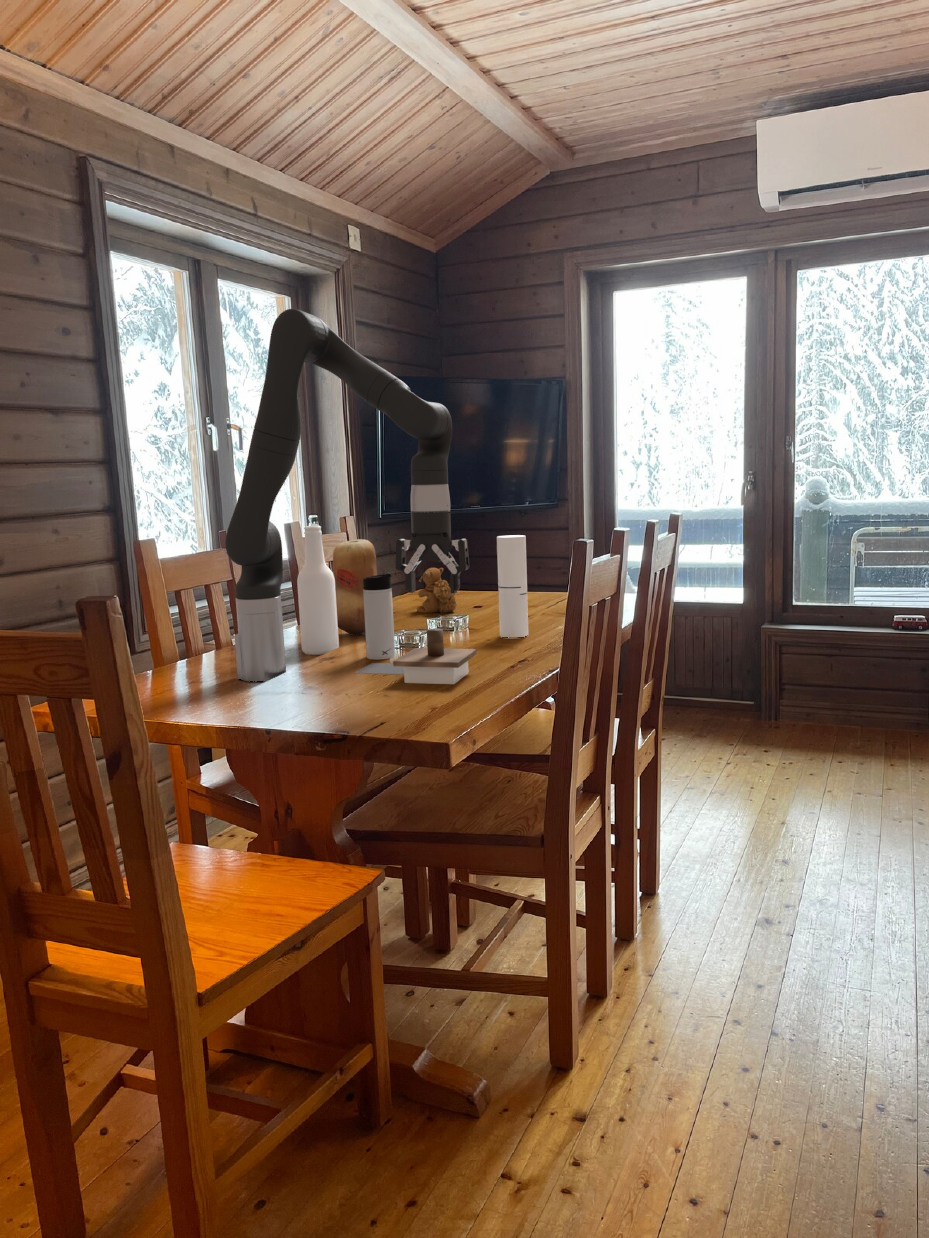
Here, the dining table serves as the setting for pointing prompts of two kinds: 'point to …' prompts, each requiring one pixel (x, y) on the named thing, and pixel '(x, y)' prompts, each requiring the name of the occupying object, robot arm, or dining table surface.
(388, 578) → the travel mug
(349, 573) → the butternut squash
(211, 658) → the dining table surface
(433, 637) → the lid
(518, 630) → the cylindrical container
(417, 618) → the dining table surface
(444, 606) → the stuffed squirrel
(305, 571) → the alcohol
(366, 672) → the mat
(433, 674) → the dish
